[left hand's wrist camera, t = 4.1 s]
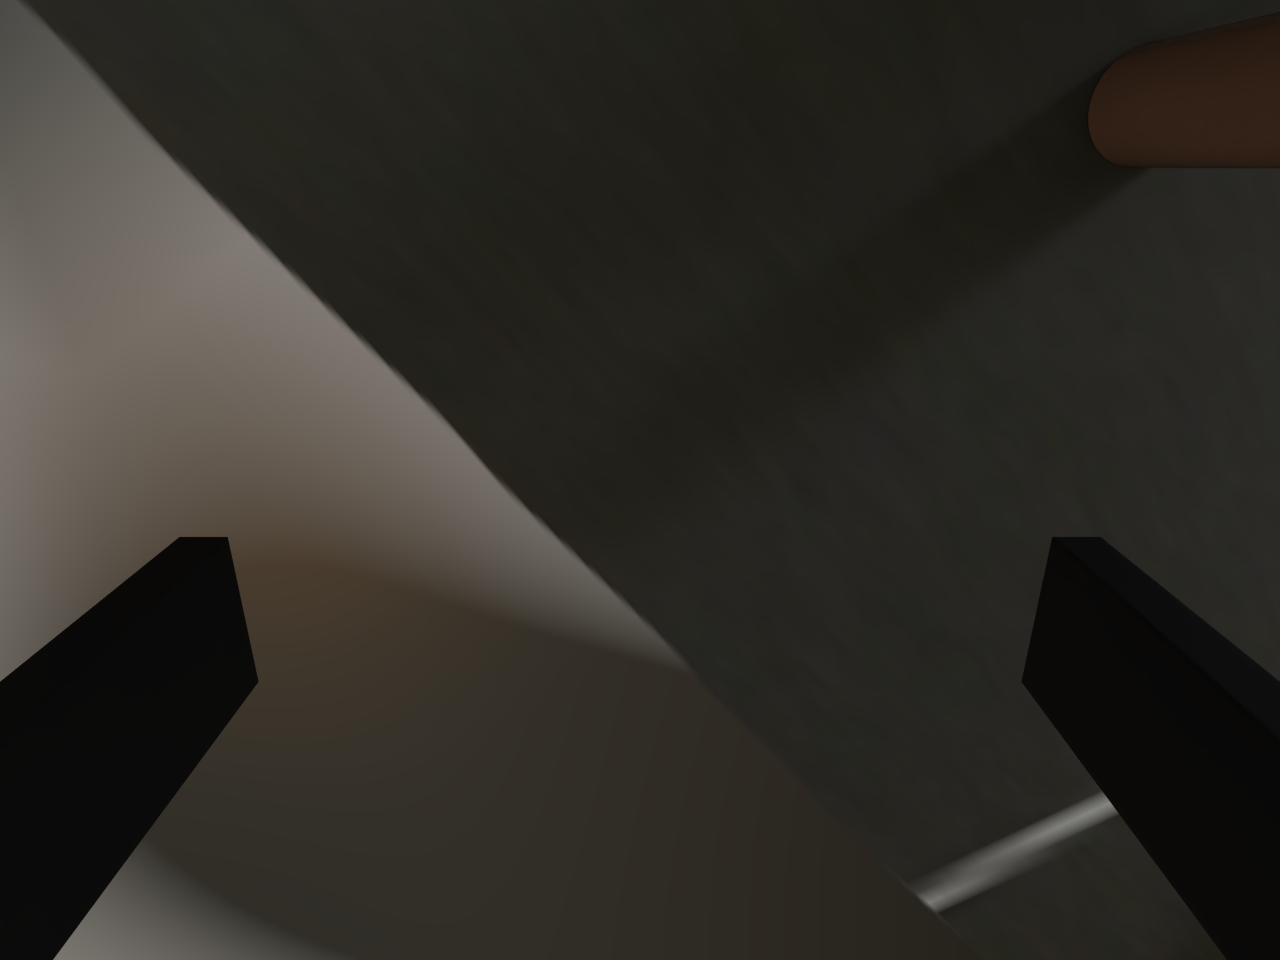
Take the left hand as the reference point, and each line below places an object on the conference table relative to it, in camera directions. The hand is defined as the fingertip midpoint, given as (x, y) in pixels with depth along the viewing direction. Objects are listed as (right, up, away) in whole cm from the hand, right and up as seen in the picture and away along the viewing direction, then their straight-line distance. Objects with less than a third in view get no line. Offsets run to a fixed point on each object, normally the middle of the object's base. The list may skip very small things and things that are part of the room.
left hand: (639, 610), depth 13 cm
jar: (+23, +19, +23) cm, 37 cm away
